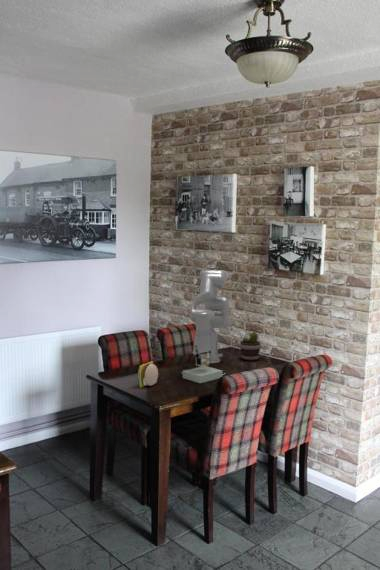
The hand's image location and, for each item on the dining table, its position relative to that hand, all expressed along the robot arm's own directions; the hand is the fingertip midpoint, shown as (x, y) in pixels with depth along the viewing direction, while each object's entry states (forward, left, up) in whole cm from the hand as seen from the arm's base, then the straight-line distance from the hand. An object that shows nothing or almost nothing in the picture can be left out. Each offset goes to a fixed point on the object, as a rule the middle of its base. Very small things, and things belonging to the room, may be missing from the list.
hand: (202, 363), depth 327 cm
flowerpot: (-53, -10, -9) cm, 55 cm away
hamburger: (+32, -10, -9) cm, 35 cm away
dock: (0, 0, -9) cm, 9 cm away
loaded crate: (0, 0, -1) cm, 1 cm away
